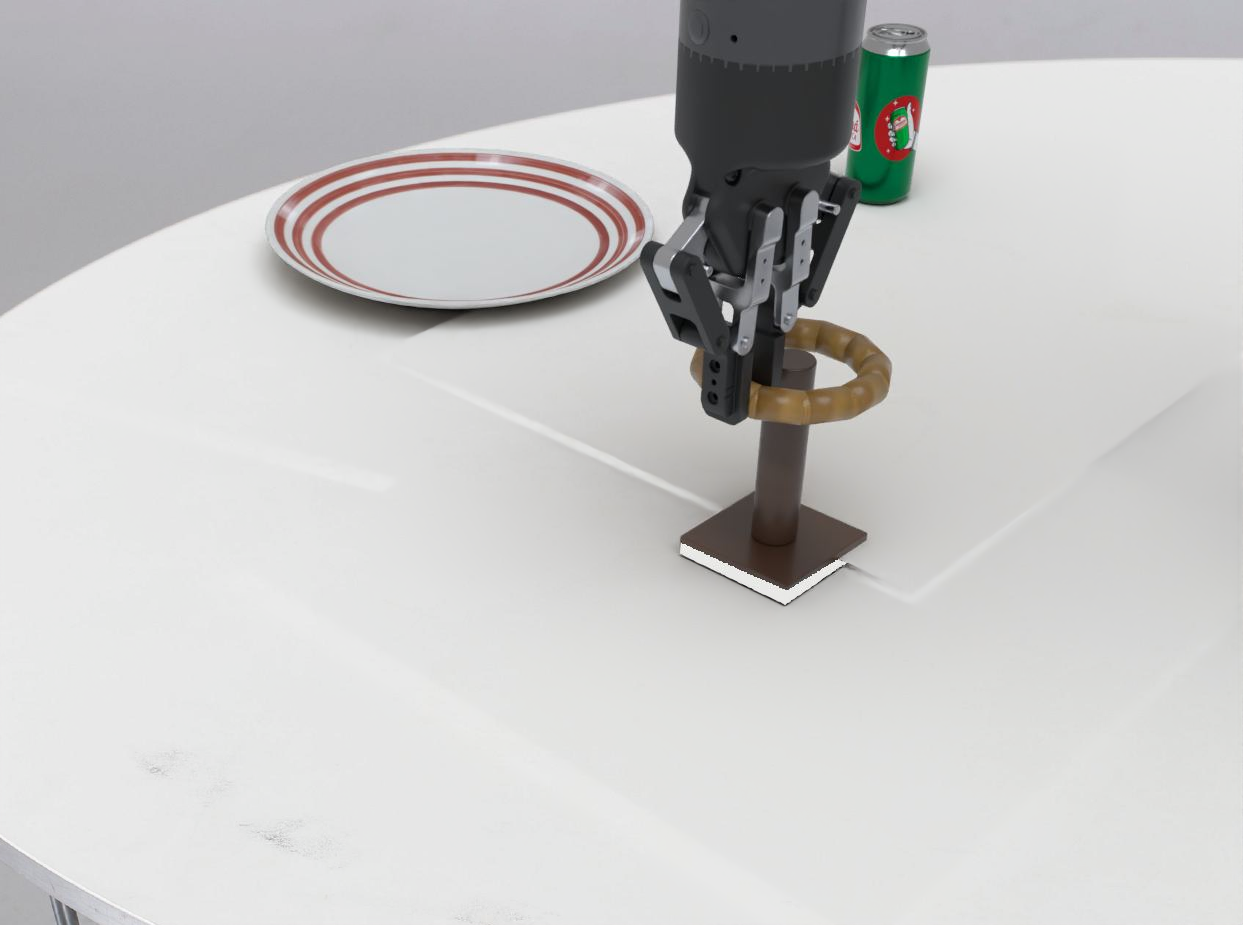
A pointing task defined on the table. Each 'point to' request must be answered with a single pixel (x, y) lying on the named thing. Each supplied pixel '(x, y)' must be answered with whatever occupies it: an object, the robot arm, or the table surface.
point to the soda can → (888, 111)
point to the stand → (778, 506)
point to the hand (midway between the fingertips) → (740, 408)
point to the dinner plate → (459, 227)
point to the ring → (824, 401)
